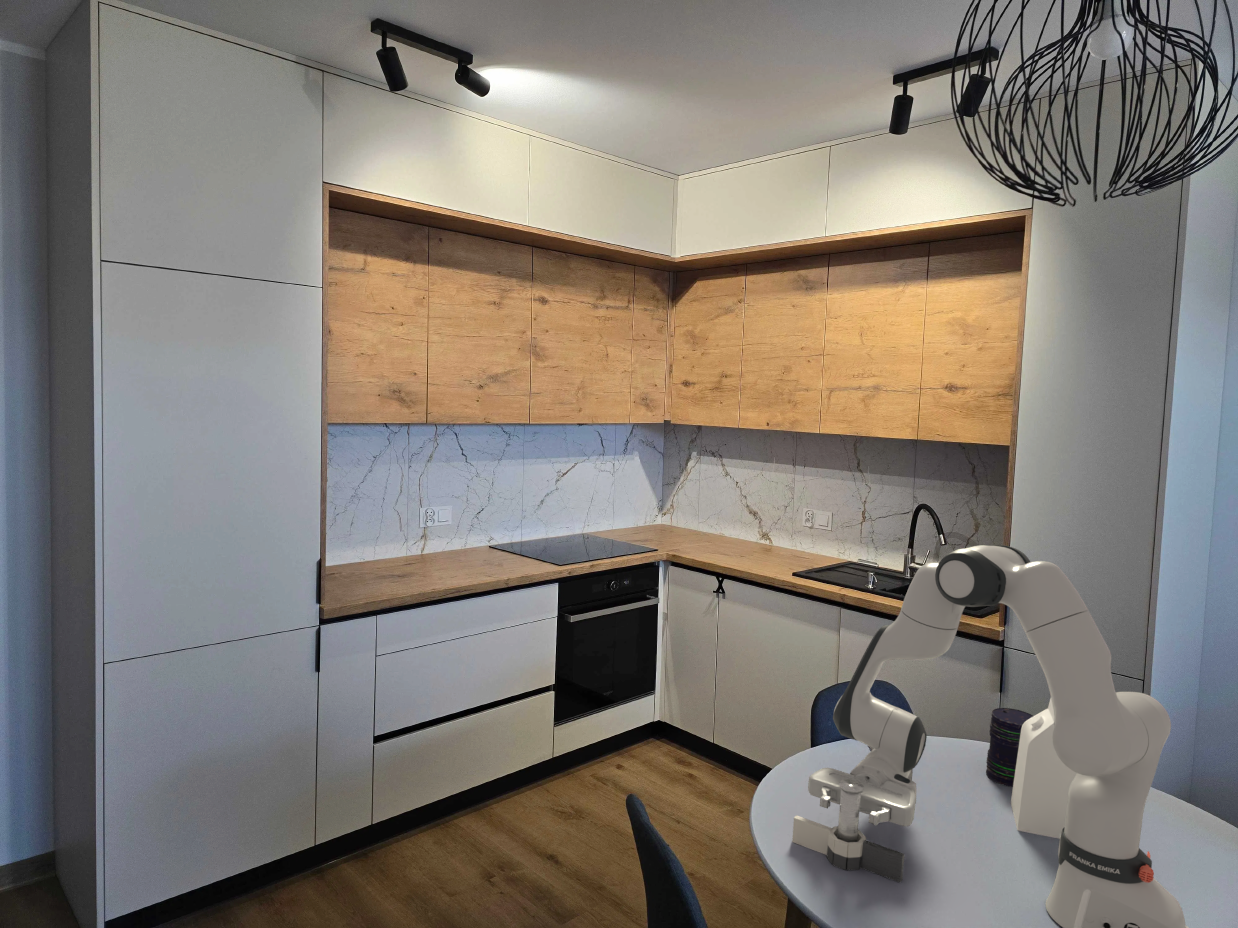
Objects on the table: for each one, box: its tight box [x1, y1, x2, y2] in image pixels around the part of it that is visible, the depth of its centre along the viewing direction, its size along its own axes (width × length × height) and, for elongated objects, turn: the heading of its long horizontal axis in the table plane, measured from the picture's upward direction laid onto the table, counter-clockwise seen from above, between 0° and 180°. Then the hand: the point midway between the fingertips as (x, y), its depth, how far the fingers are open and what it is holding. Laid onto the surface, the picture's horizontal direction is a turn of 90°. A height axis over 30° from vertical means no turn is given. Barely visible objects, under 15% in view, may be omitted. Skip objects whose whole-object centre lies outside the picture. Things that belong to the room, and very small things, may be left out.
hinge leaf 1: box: [791, 815, 867, 858], centre depth 161 cm, size 14×6×5 cm, turn 55°
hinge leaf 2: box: [826, 839, 905, 883], centre depth 157 cm, size 14×6×5 cm, turn 55°
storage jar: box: [985, 707, 1034, 788], centre depth 196 cm, size 10×10×15 cm
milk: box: [1010, 697, 1077, 840], centre depth 176 cm, size 12×12×26 cm
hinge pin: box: [837, 779, 864, 843], centre depth 159 cm, size 4×4×15 cm
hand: (847, 811), depth 158 cm, fingers open, 8 cm apart
